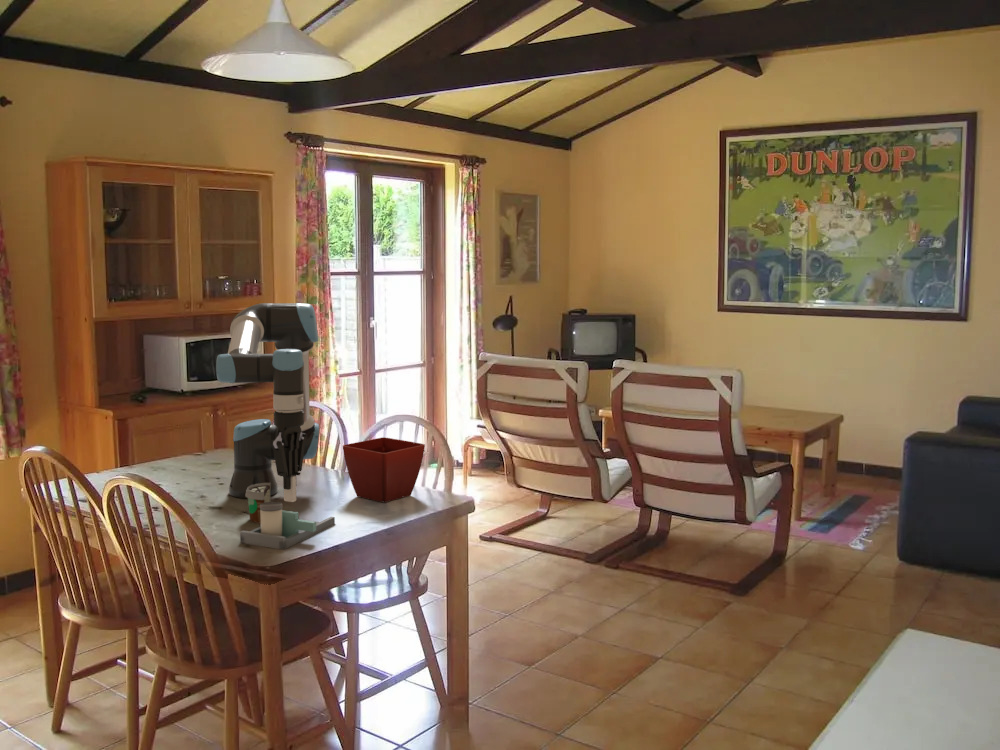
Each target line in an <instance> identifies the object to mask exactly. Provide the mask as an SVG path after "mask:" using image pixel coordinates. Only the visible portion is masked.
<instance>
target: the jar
mask: <svg viewBox="0 0 1000 750" xmlns="http://www.w3.org/2000/svg"><path fill="white" fill-rule="evenodd" d="M282 510H283V503H282V502H279V501H270V502H266V503H262V504H260V517H261V523H260V527H261V533H263V534H270V535H277V536H283V535H282Z"/></svg>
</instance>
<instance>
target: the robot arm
mask: <svg viewBox="0 0 1000 750" xmlns="http://www.w3.org/2000/svg"><path fill="white" fill-rule="evenodd" d="M230 323H231V324H230V328H229V332H230V333H229V334H230V336H231V339H230V342H229V346H228V351H227V353H222V354H221V353H220V354H218V355H217V357H216V361H215V363H216V364H215V372H216V378H217V381H218V382H219V383H221V384H222V383H226V384H241V383H243V384H245V383H247V384H249V383H250V384H251V383H273V400H272V401H273V405H272V406H273V407H272V408H273V410H275V411H274V412H273V423H272V421H271V420H270V418H269V419H268V418H260V419H259V418H258V419H252V420H247V421H243V422H240V423H238V424H237V425H235V427H234V429H233V439H232V441H233V465H234V466H233V468H234V469H233V473H232V476H231V479H230V484H229V487H228V491H229V492H228V494H229V495H230V496H231V497H234V498H240V499H248V498H247V497H246V496H245V495H246V490H247V488H248V487H249V486H251V485H254V484H260V483H270V485H271V489H270V497H271V496H273V495H275V494H277V493H278V491H279V490H278V487H279V486H278V482H277V480H276V477H275V475H274V471H273V469H272V465H273V463H272V461H275V462H274V463H275V467H276V468H275V469H276V473H277V476H279V477H282V480H283V481H282V483H283V484H282V485H283V501H284V502H289V503H294V502H296V501H297V476H300V475H301V471H302V470H303V461H304V460H312V459H314V458H315V457H316V455H317V451H318V445H319V436H320V434H319V433H320V425H319V423H317V422H315V418H314V417H313V415H311V414H310V413H311V412H310V411H311V410H310V407H311V406H310V361H309V360H310V358H309V356H310V355H309V354H310V353H309V352H310V351H311V350H312V349H313V348H314V343H316V342H318V341H319V333H318V332H319V331H318V323H317V317H316V311H315V308H314V306H313V305H312V304H310V303H300V302H296V303H295V302H293V303H292V302H291V303H290V302H289V303H287V302H286V303H285V302H280V303H278V302H277V303H276V302H274V303H273V302H271V303H268V302H263V303H257V304H254V305H251V306H248V307H246V308H244V309H242V310H241V311H240V312H239V313H237V314H236V315H235V316H234V318H233V319H232V321H231V322H230ZM264 342H265V343H274V347H275V348H274V349H276V350H274V351H273V353H258V350H259V343H264Z"/></svg>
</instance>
